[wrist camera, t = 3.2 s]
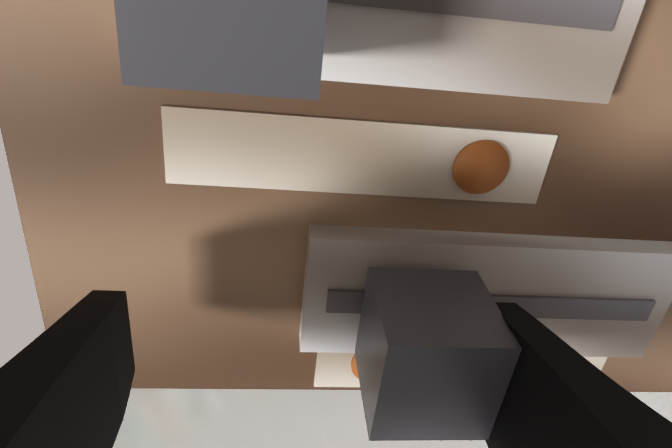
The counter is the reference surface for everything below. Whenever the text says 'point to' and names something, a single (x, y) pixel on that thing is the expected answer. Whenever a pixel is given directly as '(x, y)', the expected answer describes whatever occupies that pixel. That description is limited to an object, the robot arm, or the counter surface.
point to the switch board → (353, 183)
